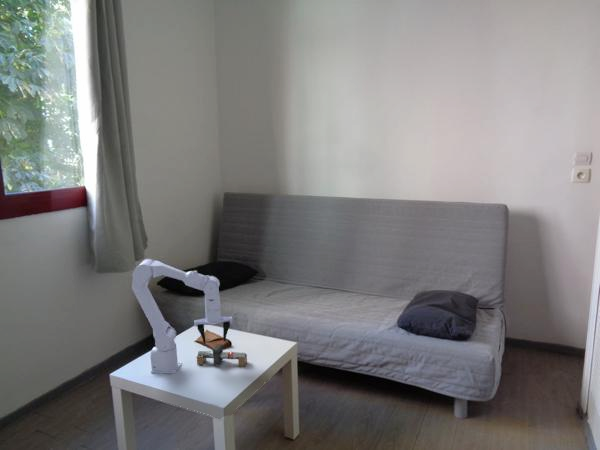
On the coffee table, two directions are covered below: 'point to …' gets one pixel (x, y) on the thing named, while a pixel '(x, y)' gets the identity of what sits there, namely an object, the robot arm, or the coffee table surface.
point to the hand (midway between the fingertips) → (214, 341)
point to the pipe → (222, 357)
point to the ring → (217, 354)
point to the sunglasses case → (213, 340)
